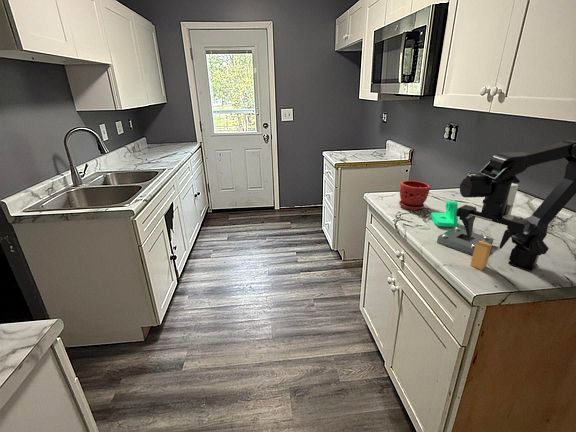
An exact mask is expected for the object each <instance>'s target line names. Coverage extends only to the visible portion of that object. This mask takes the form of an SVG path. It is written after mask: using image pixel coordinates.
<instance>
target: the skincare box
mask: <svg viewBox="0 0 576 432" xmlns="http://www.w3.org/2000/svg"><path fill="white" fill-rule="evenodd" d="M518 189H519V183H512V185H511V188H510V192H509V196H508V199H507V200H508V203H507V204H508V205H510V206H511V208H510V210H509V213H508V215H506V216H505V217H508V216H511V214H512V211H513V207H514V203H515V200H516V199H515V198H516V196H517V192H518ZM505 217H504V216H503V218H505Z"/></svg>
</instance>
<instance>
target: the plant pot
mask: <svg viewBox="0 0 576 432" xmlns="http://www.w3.org/2000/svg"><path fill="white" fill-rule="evenodd" d="M430 190H431V185H429V184H428V183H425V182H422V181H418V180H417V181H416V180H404V181H401V182H400V187H399V197H400V200H399V201H398V204H399V206H400V207H401V208H403V209H406V210H410V211H411V210H412V211H418V210H421V209H423V208H424V207H425V205H424V203H426V200H427V199H428V196H429V193H430Z"/></svg>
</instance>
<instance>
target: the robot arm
mask: <svg viewBox="0 0 576 432" xmlns="http://www.w3.org/2000/svg"><path fill="white" fill-rule="evenodd" d="M561 159H564V160H565V161H567V163H566V166H565V169H564V176H563V178H562V179H561V180H560V181H559V183H558V184H557V185H556V186H555V187H554V188H553V190H552V191H551V192H550V193H549V194H548V195H547V197H546V198H545V199H544V200H543V201H542V202H541V204H540V205H539V206H538V207H537V208H536V209H535V210H534V212H533V213H532V214H531V215H530V216H528V217H526V218H523V217H521V216H520V217H517V216H515V217H513V218H512V219H509V218H507V216H506V215H508V213H509V210H510V208H511V206H510V205H508V204H507V203H508V200H507V199H508V196H509V192H510V188H511V185H512V183H513V184H520V183H521V180H519V178H518V177H517V175H519V174H522V173H523V172H525V171H526V170H527V169H529V168H531V167H534V166H537V165H542V164H545V163H550V162H553V161H558V160H561ZM459 193H460V195H461V196H462V198H484V199H482V208H481V211H478V210H477V207H476V206H473V205H469V204H464V205H462V206H460V207H458V209H457V211H456V216H458V219H459V220H460V221H461V222H462V224H463V226H464V230H466V233H467V236H468V238H469V239H470V238H471V235H472V232H473V231H474V230H473V228H474V222H475V219H476V218H478V219H482V220H485V221H489V222H491V223H492V222H493V223H496V224H500V225H504V226H506V228H507V229H505V230H504V233H503V236H502V238H501V241H500V244H499V249H503V247H504V246H505V245H506V243H507V242H508V241H509V240H510V238H511V243H512V244H515V246H514V247H513V248H512V249H511V251H510V254H509V258H508V265H511V266H514V267H517V268H519V269H522V270H526V271H528V272H533V270H535V268H536V267H537V266H538V260H539V257H540V256H541V255H546V253H547V252H548V251H549V247H548V245H547V244H546V243H545V242H544V240H545V238H546V236H547V234H548V226H549V224H551V222H552V221H554V220H553V219H555V218H556V216H557V215H558V214H559V213H560V212H561V210H563V209H564V207H565V206H566V205H568V203H569V201H571V200H572V198H573V197H574V196H575V195H576V141H575V140H570V139H567V140H565V139H564V140H562V141H559V142H557V143H554V144H548V145H545V146H542V147H538V148H534V149H529V150H526V151H519V152H518V151H517V152H515V151H513V152H511V151H509V152H507V151H506V152H498V153H496V154H494V155H492V158H491V159H490V160H489V161H488V162H487V163H486V165H484V167H482V168H481V170H480V171H479V172H478V173H477V174H472V173H471V174H469V173H468V174H466V177H465V178H463V179H462V181H461V182H460V184H459ZM503 216H504V217H503ZM505 217H506V218H505Z"/></svg>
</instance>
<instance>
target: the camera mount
mask: <svg viewBox="0 0 576 432" xmlns="http://www.w3.org/2000/svg"><path fill="white" fill-rule="evenodd" d="M458 208H459V205H458V202H457V200H447V201H445V212H435V211H434V212H431V214H430V217H431V221H432V223H433V224H434V225H436V226H437V227H446V228H448V227H449V228H454V227H458V222H459V220H458V219H459V217H458V216H456V211H457V209H458Z"/></svg>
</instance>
